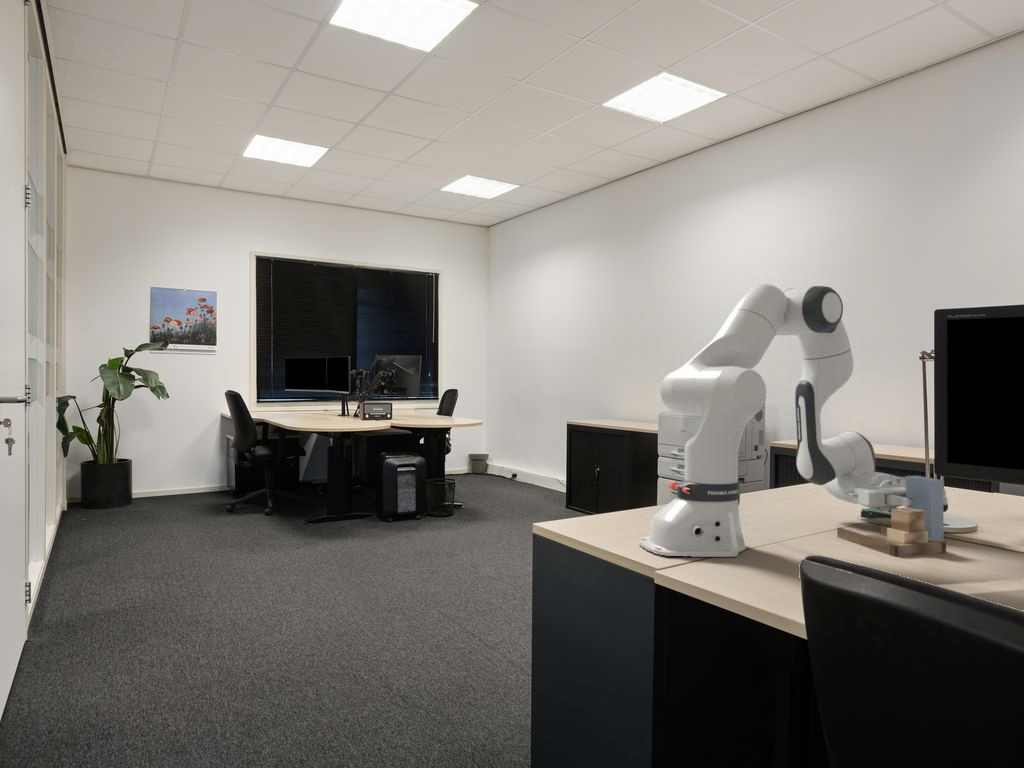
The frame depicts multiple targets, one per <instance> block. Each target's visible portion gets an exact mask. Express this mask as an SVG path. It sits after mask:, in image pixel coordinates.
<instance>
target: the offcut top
mask: <svg viewBox="0 0 1024 768" xmlns="http://www.w3.org/2000/svg"><path fill="white" fill-rule="evenodd" d="M896 508H897V509H891V519H890V522H891V524H890V527H891V529H895V530H899V531H904V532H908V533H910V532H918V531H925V511H922V510H917V509H912V508H905V507H900V508H899V507H896Z"/></svg>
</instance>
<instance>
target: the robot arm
mask: <svg viewBox="0 0 1024 768" xmlns="http://www.w3.org/2000/svg"><path fill="white" fill-rule="evenodd" d="M843 304H844V303H843V301H842V298H841V296H840V295H839V294H838V293H837V291H836V290H835V289H834V288H833V287H829V286H823V285H813V286H810V287H796V288H787V289H782V290H781V288H778V287H777V286H775V285H773V284H768V283H760V284H756V285H755V286H752V287H750V289H748V291H747V292H746V293H745V294H744V295H743V296H742V297H741V298H740V299H739V301H737V303H736V304H735V306H734V307H733V308H732V310H731V312H730V313H729V315H728V316H727V318H725V321H724V322H723V323H722V325H721V327H720V328H719V329H718V331H716V334H715V335H714V337H713V338H712V339H711V340H710V341H709V342H708V343H707V344H706V345H705V346H704V347H703V348H702V349H700V350H699V352H698V353H696V355H694V356H693V357H692V358H690V359H689V360H688V362H686V363H684V364H683V365H681V367H679V368H677V369H675V370H673V371H671V372H669V373H668V374H666V376H665V377H664V379H663V381H662V383H661V385H660V396H661V400H662V402H663V404H664V406H665V408H668V410H670V411H673V412H675V413H677V414H680V415H684V416H687V417H688V416H689V417H701V420H700V425H699V427H698V430H697V431H696V433H695V435H694V436H692V437H691V438H689V439H688V440H687V441H686V443H685V445H684V479H683V480H681V482H680V483H679V482H677V481H674V480H671V481H669V483H668V486H667V487H668V489H669V490H670V491H673V492H676V497H675V498H674V499H672V501H670V502H669V503H667V504H666V505H665V506H664V507H663V508H661V509H660V510H658V511H657V512H656V513H655V514H653V516H652V517H651V522H650V524H649V525H650V526H649V533H648V535H647V536H646V535H645V536H641V537H640V538H639V539H638V543H639V542H640V544H641V545H643V546H644V547H646V548H647V549H649V550H651V551H653V552H656V553H658V554H662V555H666V556H684V557H683V558H685V556H686V557H687V556H691V557H690V558H692V557H693V558H699V557H700V558H701V557H702V558H703V557H704V558H706V557H710V558H711V557H712V558H715V557H719V558H723V557H724V558H725V557H726V558H727V557H728V558H729V557H731V558H732V557H738V555H739V553H741V552H743V551H745V550H746V548H747V545H746V542H745V539H744V536H743V531H742V526H741V519H740V510H739V508H740V507H739V506H740V500H741V488H740V487H741V486H740V481H738V479H739V478H738V474H739V473H738V471H739V469H738V466H739V462H738V461H739V448H740V443H741V439H742V435H743V434H744V430H745V428H746V426H747V424H748V423H749V421H751V419H752V418H753V417H754V416H755V415H756V414H758V413H759V412H760V411H761V410H762V408H763V407H764V405H765V402H766V399H767V386H766V383H765V381H764V379H763V377H762V376H761V374H759V373H758V371H756V370H753V369H754V368H755V367H756V366H758V364H759V363H760V362H761V360H762V358H763V357H764V355H765V353H766V352H767V350H768V349H769V347H770V345H771V344H772V342H773V340H774V338H775V337H776V336H797V337H798V342H799V351H800V355H801V362H802V372H801V377H800V381H799V383H798V384H797V385H796V388H795V392H794V393H795V394H794V395H795V396H794V397H795V398H794V400H795V401H794V402H795V403H794V405H795V407H794V408H795V423H796V424H795V426H796V444H797V445H796V455H795V466H796V470H797V473H798V474H799V475H800V477H801V478H803V480H805V481H807V482H809V483H811V484H813V485H817V486H823V487H824V489H825V490H826V491H827V492H828V493H829V494H830V495H831V496H833V497H834V498H837V499H838V500H841V501H843V502H846V503H850V504H855V505H861V506H862V507H863V506H864V507H866V508H873V509H877V510H880V511H887V510H890V509H892V508H899V507H905V506H906V507H907V506H913V499H912V498H909V497H905V476H902V475H901V476H899V475H894V474H890V473H885V472H877V471H876V455H875V454H876V453H875V450H874V449H875V448H874V447H873V445H872V443H871V442H870V440H869V439H868V438H866V437H865V436H864V435H863V434H861V433H860V432H857V431H854V430H848V431H846V432H841V433H839V434H837V435H836V434H835V435H833V436H832V437H829V438H826V439H824V440H823V439H822V427H821V425H822V424H821V412H822V408H823V406H824V405H825V403H826V402H827V401H828V400H829V399H830V398H831V397H832V395H834V394H835V393H836V392H837V391H839V390H840V389H841V388H842V387H843V386H845V384H846V383H847V382H848V381H849V380H850V378H851V376H852V375H853V373H854V358H853V353H852V349H851V348H852V347H851V344H850V340H849V337H848V333H847V330H846V327H845V325H844V323H843V320H842V316H843V313H844V306H843ZM946 492H947V491H946V488H945V487H943V506H946V505H948V497H947V493H946ZM687 558H688V557H687Z"/></svg>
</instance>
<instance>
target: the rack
mask: <svg viewBox="0 0 1024 768" xmlns="http://www.w3.org/2000/svg"><path fill="white" fill-rule="evenodd" d="M887 528H891V526H889V525H886V524H885V525H884V524H882V525H880V534H862V533H859V532H856V531H854V530H851V529H846V528H843V527H837V530H836V531H837V532H836V533H837V534H836V536H837V539H838V538H839V539H842V540H845V541H848V542H851V543H853V544H856V545H858V546H859V545H860V546H862V547H865V548H868V549H871V550H874V551H877V552H880V553H883V554H885V555H888V556H892V557H907V556H908V557H909V556H920V555H921V556H922V555H923V556H924V555H938V554H939V555H940V554H947V543H946V542H945V541H938V540H934V539H931V538H928V542H927V543H911V544H891V543H888V542H887Z"/></svg>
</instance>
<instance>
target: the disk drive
mask: <svg viewBox="0 0 1024 768" xmlns="http://www.w3.org/2000/svg"><path fill="white" fill-rule="evenodd" d="M897 508H898V507H896V508H892V509H897ZM860 517H861V518H863V519H868V520H871V519H872V520H873V519H874V520H875V519H890V520H891V509H890V510H887V511H880V510H877V509H873V508H869V507H867V508H861V511H860Z"/></svg>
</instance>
